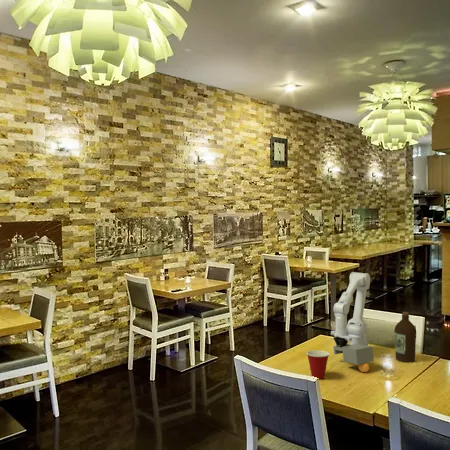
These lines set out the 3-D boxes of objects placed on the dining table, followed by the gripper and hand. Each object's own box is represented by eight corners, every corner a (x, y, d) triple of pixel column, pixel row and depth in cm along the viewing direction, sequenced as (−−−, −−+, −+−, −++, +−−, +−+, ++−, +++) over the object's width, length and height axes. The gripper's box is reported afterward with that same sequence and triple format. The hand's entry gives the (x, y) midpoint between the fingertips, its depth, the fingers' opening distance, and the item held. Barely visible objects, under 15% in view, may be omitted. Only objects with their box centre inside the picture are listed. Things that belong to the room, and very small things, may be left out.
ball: (363, 368, 218) (364, 359, 217) (370, 372, 214) (371, 363, 213) (355, 370, 216) (356, 360, 215) (362, 374, 212) (363, 364, 211)
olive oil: (404, 355, 238) (404, 309, 237) (420, 361, 228) (421, 313, 227) (389, 358, 233) (390, 311, 232) (405, 364, 224) (405, 315, 223)
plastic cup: (328, 373, 213) (328, 348, 213) (331, 382, 203) (331, 356, 202) (305, 372, 215) (305, 348, 214) (307, 381, 204) (307, 355, 203)
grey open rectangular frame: (348, 355, 232) (347, 341, 233) (373, 361, 215) (372, 346, 216) (333, 358, 228) (331, 344, 229) (357, 364, 211) (355, 349, 212)
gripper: (326, 323, 234) (326, 348, 235) (344, 330, 221) (344, 356, 222) (337, 321, 237) (337, 346, 238) (355, 328, 224) (355, 354, 225)
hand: (341, 351), depth 230 cm, fingers closed on grey open rectangular frame
